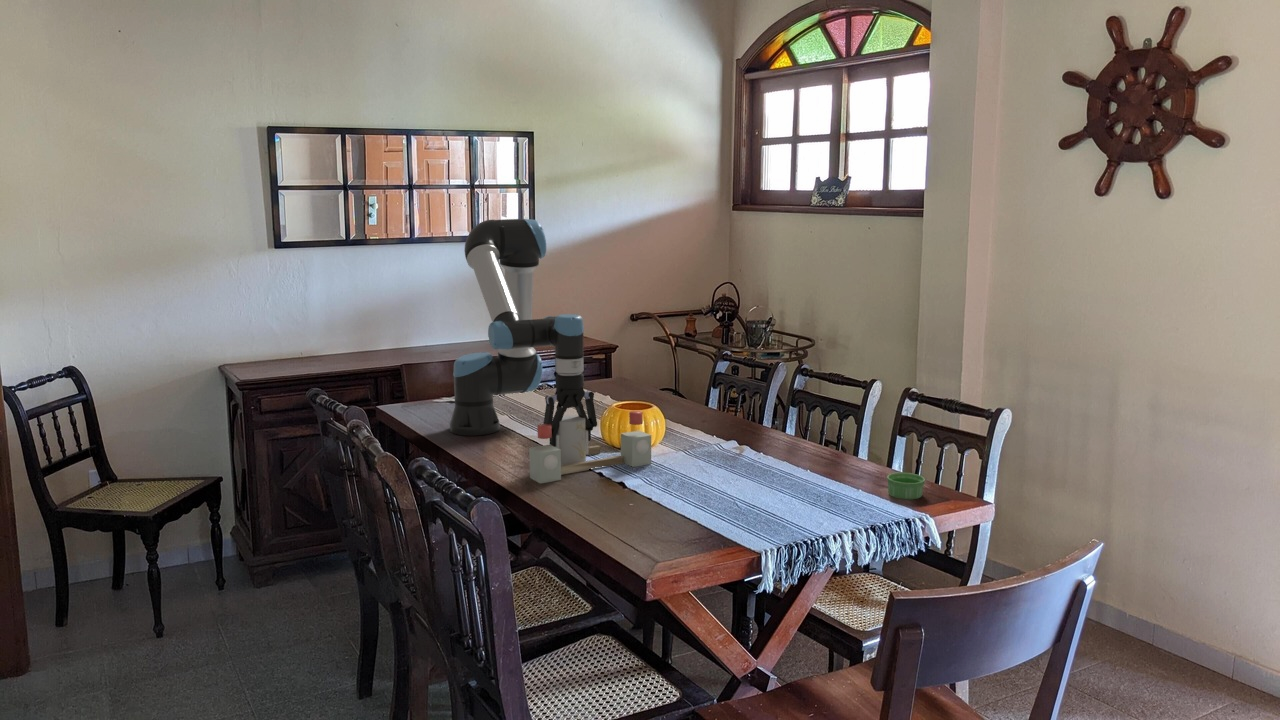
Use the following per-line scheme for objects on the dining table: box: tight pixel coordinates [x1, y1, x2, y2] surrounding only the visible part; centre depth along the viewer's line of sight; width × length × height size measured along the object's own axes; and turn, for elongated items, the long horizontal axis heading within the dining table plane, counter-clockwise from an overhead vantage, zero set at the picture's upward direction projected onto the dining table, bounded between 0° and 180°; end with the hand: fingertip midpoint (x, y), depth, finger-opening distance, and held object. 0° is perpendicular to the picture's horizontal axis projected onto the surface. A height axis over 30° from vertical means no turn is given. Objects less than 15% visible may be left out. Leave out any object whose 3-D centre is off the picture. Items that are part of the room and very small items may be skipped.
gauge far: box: [628, 410, 644, 426], centre depth 271 cm, size 4×4×3 cm
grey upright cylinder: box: [557, 414, 587, 465], centre depth 270 cm, size 8×8×12 cm
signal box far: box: [620, 430, 652, 468], centre depth 272 cm, size 6×6×8 cm
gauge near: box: [536, 423, 552, 440], centre depth 256 cm, size 4×4×3 cm
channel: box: [561, 445, 624, 476], centre depth 273 cm, size 14×19×2 cm
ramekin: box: [886, 472, 926, 500], centre depth 245 cm, size 9×9×4 cm
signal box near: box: [528, 444, 562, 484], centre depth 258 cm, size 6×6×8 cm
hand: (570, 455), depth 271 cm, fingers closed on grey upright cylinder, 8 cm apart
